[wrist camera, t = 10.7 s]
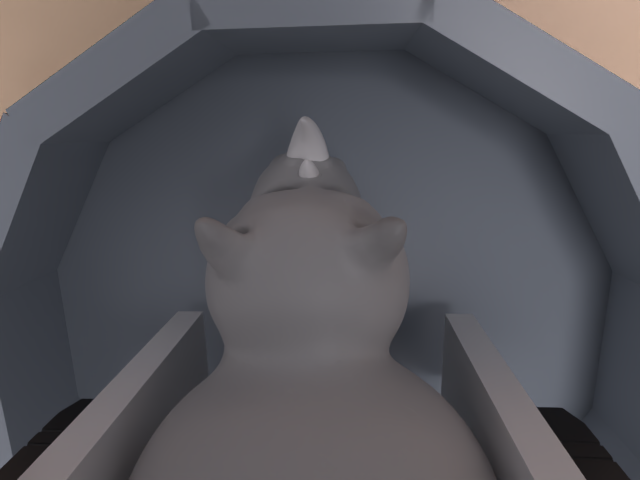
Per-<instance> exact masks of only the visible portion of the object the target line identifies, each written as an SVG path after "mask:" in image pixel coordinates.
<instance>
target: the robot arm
mask: <svg viewBox="0 0 640 480" xmlns="http://www.w3.org/2000/svg"><path fill="white" fill-rule="evenodd" d="M208 376H209V375H208V363H207V352H206V340H205V328H204V317H203V312H202V311H178V312H177V313H176V314H175V315H174V316H173V317H172V318H171V319H170V320H169V321H168V322H167V323H166V324H165V325H164V326H163V327H162V329H161V330H160V331H159V332H158V333H157V334H156V335H155V336H154V337H153V338H152V339H151V340H150V341H149V342H148V343H147V344H146V345H145V346H144V347H143V348H142V349H141V350H140V352H139V353H138V354H137V355H136V356H135V357H134V358H133V359H132V360H131V361H130V362H129V363H128V364H127V365H126V366H125V367H124V368H123V369H122V370H121V371H120V372H119V374H118V375H117V376H116V377H115V378H114V379H113V380H112V381H111V382H110V383H109V384H108V385H107V386H106V387H105V388H104V389H103V390H102V391H101V392H100V393H99V394H98V395H97V397H96V398H95V399H80V400H79V401H77V402H75V403H74V404H72V405H70V406H68V407H67V408H65V409H63V410H62V411H60V412H59V413H58V414H57V415H56V416H54V417H53V418H52V419H51V420H50V421H49V422H48V423H47V424H46V425H45V426H44V427H43V428H42V431H41V432H38V433H37V434H36V435H35V436H34V437H33V438H32V439H31V440H30V441H29V442H28V444H27V446H23V447H22V448H21V449H20V450H19V451H18V452H17V453H16V454H15V455H14V456H13V457H12V458H11V459H10V460H9V461H8V462H7V463H6V464H5V465H4V466H3V467H2V468H1V469H0V480H129V477H130V475H131V473H132V471H133V469H134V467H135V465H136V463H137V461H138V459H139V457H140V455H141V453H142V451H143V449H144V448H145V446H146V444H147V443H148V441H149V440H150V438H151V437H152V435H153V434H154V432H155V431H156V429H157V428H158V427H159V425H160V424H161V423H162V421H163V420H164V419H165V417H166V416H167V415H168V414H169V413H170V411H171V410H172V409H173V408H174V407H175V406H176V405H177V404H178V403H179V402H180V401H181V400H182V399H183V398H184V397H185V396H186V395H187V394H188V393H189V392H190V391H191V390H192V389H194V388H195V387H196V386H197V385H199V384H200V383H201V382H202V381H204V380H205V379H206V378H207V377H208ZM441 395H442V396H443V397H444V398H445V399H446V400H447V401H448V402H449V404H450V405H451V406H452V407H453V408H454V409H455V410H456V411H457V413H458V414H459V415H460V416H461V418H462V419H463V420H464V421H465V423H466V424H467V426H468V427H469V428H470V430H471V431H472V433H473V434H474V436H475V437H476V439H477V440H478V442H479V444H480V446H481V447H482V449H483V451H484V453H485V454H486V456H487V458H488V460H489V462H490V464H491V466H492V468H493V471H494V473H495V475H496V478H497V480H630V478H629V477H628V476H627V475H626V473H625V472H624V471H623V470H622V468H621V467H620V466H619V465H618V464H617V462H614V461H613V457H612V456H611V455H610V454H609V453H608V451H607V450H606V449H605V448H604V446H601V445H600V441H599V440H598V439H597V438H596V437H595V435H594V434H593V433H592V432H591V430H590V429H589V428H588V427H587V426H586V424H585V423H584V422H582V421H581V420H579V419H578V418H576V417H575V416H573V415H572V414H571V413H569V412H568V411H566V410H565V409H563V408H559V407H536V406H535V404H534V403H533V401H532V400H531V398H530V397H529V396H528V394H527V393H526V391H525V390H524V388H523V387H522V385H521V384H520V382H519V381H518V380H517V378H516V377H515V375H514V374H513V372H512V371H511V369H510V368H509V366H508V365H507V364H506V362H505V361H504V359H503V358H502V356H501V355H500V353H499V352H498V350H497V349H496V348H495V346H494V345H493V343H492V342H491V340H490V339H489V337H488V336H487V334H486V333H485V331H484V330H483V329H482V327H481V326H480V324H479V323H478V321H477V320H476V318H475V317H474V315H473V314H445V328H444V346H443V364H442V383H441Z"/></svg>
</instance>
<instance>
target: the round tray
mask: <svg viewBox="0 0 640 480" xmlns="http://www.w3.org/2000/svg"><path fill="white" fill-rule="evenodd" d="M6 112H7V113H3V115H2V118H1V121H0V469H1V468H2V467H3V466H4V465H5V464H6V463H7V462H8V461H9V460H10V459H11V458H12V457H13V456H14V455H15V454H16V453H17V452H18V451H19V450H20V449H21V448H22V447H23V446H27V444H28V442H29V441H30V440H31V439H32V438H33V437H34V436H35V435H36V434H37V433H38V432H41V431H42V428H43V427H44V426H45V425H46V424H47V423H48V422H49V421H50V420H51V419H52V418H53V417H54V416H56V415H57V414H58V413H59V412H60V411H62V410H63V409H65V408H67V407H68V406H70V405H72V404H74V403H75V402H77V401H79V400H80V399H95V398H96V397H97V395H98V394H99V393H100V392H101V391H102V390H103V389H104V388H105V387H106V386H107V385H108V384H109V383H110V382H111V381H112V380H113V379H114V378H115V377H116V376H117V375H118V374H119V372H120V371H121V370H122V369H123V368H124V367H125V366H126V365H127V364H128V363H129V362H130V361H131V360H132V359H133V358H134V357H135V356H136V355H137V354H138V353H139V352H140V350H141V349H142V348H143V347H144V346H145V345H146V344H147V343H148V342H149V341H150V340H151V339H152V338H153V337H154V336H155V335H156V334H157V333H158V332H159V331H160V330H161V329H162V327H163V326H164V325H165V324H166V323H167V322H168V321H169V320H170V319H171V318H172V317H173V316H174V315H175V314H176V313H177V312H178V311H202V312H203V317H204V328H205V340H206V352H207V363H208V375H210V374H211V373H212V372H213V371H214V370H215V369H216V367H217V366H218V365H219V363H220V361H221V359H222V356H223V353H224V342H223V339H222V337H221V334H220V332H219V330H218V328H217V326H216V324H215V322H214V321H213V319H212V316H211V314H210V311H209V308H208V305H207V300H206V292H205V275H206V267H207V262H208V261H207V260H206V259H205V257H204V255H203V254H202V252H201V250H200V248H199V245H198V242H197V239H196V236H195V230H194V225H195V222H196V220H198V219H199V218H202V217H210V218H213V219H215V220H217V221H219V222H221V223H223V224H224V225H227V223H228V222H229V221H230V220H231V219H232V218H234V217H235V216H236V215H237V214H238V213H239V212H240V210H241V209H242V208H243V206H244V205H245V204H246V203H247V202H248V201H249V200H250V199H251V196H252V193H253V190H254V187H255V185H256V183H257V181H258V178H259V177H260V175H261V174H262V173H263V172H264V170H265V169H266V168H267V167H268V166H269V165H270V163H271V161H272V160H273V159H274V158H275V157H277V156H278V155H280V154H285V153H286V152H287V151H288V148H289V145H290V142H291V139H292V136H293V133H294V131H295V128H296V126H297V124H298V121H299V120H300V118H301V117H304V116H306V117H309V118H311V119H312V120H313V121H314V122H315V123H316V124H317V126H318V128H319V129H320V131H321V133H322V135H323V138H324V140H325V143H326V146H327V150H328V154H329V155H330V156H331V157H336V158H338V159H340V160H342V161H343V162H344V163H345V165H346V169H347V171H348V172H349V174H350V175H351V177H352V178H353V180H354V182H355V184H356V186H357V188H358V190H359V192H360V197H361V199H364V200H365V201H366V202H368V203H369V204H370V205H371V206H372V207H373V208H374V209H375V210H376V211H377V212H378V213H379V214H380V215H381V217H382V218H385V217H390V216H393V217H398V218H400V219H402V220H404V221H405V223H406V225H407V237H406V240H405V244H404V249H405V252H406V256H407V260H408V265H409V273H410V291H409V299H408V304H407V309H406V312H405V315H404V318H403V320H402V323H401V325H400V327H399V329H398V331H397V332H396V334H395V336H394V338H393V339H392V341H391V344H390V347H389V353H390V355H391V356H392V358H393V359H394V360H395V361H397V362H398V363H399V364H401V365H402V366H404V367H405V368H407V369H408V370H410V371H411V372H412V373H414V374H415V375H417V376H418V377H419V378H421V379H422V380H424V381H425V382H426V383H428V384H429V385H430V386H432V387H433V388H434V389H435V390H436V391H437V392H438V393H439V394H441V383H442V364H443V346H444V328H445V314H473V315H474V317H475V318H476V320H477V321H478V323H479V324H480V326H481V327H482V329H483V330H484V331H485V333H486V334H487V336H488V337H489V339H490V340H491V342H492V343H493V345H494V346H495V348H496V349H497V350H498V352H499V353H500V355H501V356H502V358H503V359H504V361H505V362H506V364H507V365H508V366H509V368H510V369H511V371H512V372H513V374H514V375H515V377H516V378H517V380H518V381H519V382H520V384H521V385H522V387H523V388H524V390H525V391H526V393H527V394H528V396H529V397H530V398H531V400H532V401H533V403H534V404H535V406H536V407H559V408H563V409H565V410H566V411H568V412H569V413H571V414H572V415H573V416H575V417H576V418H578V419H579V420H581V421H582V422H584V423H585V424H586V426H587V427H588V428H589V429H590V430H591V432H592V433H593V434H594V435H595V437H596V438H597V439H598V440H599V441H600V445H601V446H604V448H605V449H606V450H607V451H608V453H609V454H610V455H611V456H612V457H613V461H614V462H617V464H618V465H619V466H620V467H621V468H622V470H623V471H624V472H625V473H626V475H627V476H628V477H629V478H630V480H640V90H639V89H638V88H636V87H634V86H633V85H631V84H630V83H628V82H626V81H625V80H623V79H621V78H620V77H618V76H616V75H615V74H613V73H612V72H610V71H608V70H607V69H605V68H603V67H602V66H600V65H598V64H597V63H595V62H593V61H592V60H590V59H589V58H587V57H585V56H584V55H582V54H580V53H579V52H577V51H575V50H574V49H572V48H571V47H569V46H567V45H566V44H564V43H562V42H561V41H559V40H557V39H556V38H554V37H553V36H551V35H549V34H548V33H546V32H544V31H543V30H541V29H539V28H538V27H536V26H535V25H533V24H531V23H530V22H528V21H526V20H525V19H523V18H521V17H520V16H518V15H517V14H515V13H513V12H512V11H510V10H508V9H507V8H505V7H503V6H502V5H500V4H499V3H497V2H495V1H494V0H154V1H153V2H151V3H150V4H148V5H147V6H146V7H144V8H143V9H142V10H140V11H139V12H138V13H136V14H135V15H134V16H132V17H131V18H129V19H128V20H127V21H125V22H124V23H123V24H121V25H120V26H119V27H117V28H116V29H115V30H113V31H112V32H111V33H109V34H108V35H106V36H105V37H104V38H102V39H101V40H100V41H98V42H97V43H96V44H94V45H93V46H92V47H90V48H89V49H87V50H86V51H85V52H83V53H82V54H81V55H79V56H78V57H77V58H75V59H74V60H73V61H71V62H70V63H68V64H67V65H66V66H64V67H63V68H62V69H60V70H59V71H58V72H56V73H55V74H54V75H52V76H51V77H50V78H48V79H47V80H45V81H44V82H43V83H41V84H40V85H39V86H37V87H36V88H35V89H33V90H32V91H31V92H29V93H28V94H26V95H25V96H24V97H22V98H21V99H20V100H18V101H17V102H16V103H14V104H13V105H12V106H10V107H9V108H8V109H6Z"/></svg>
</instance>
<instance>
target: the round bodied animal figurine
mask: <svg viewBox="0 0 640 480" xmlns="http://www.w3.org/2000/svg"><path fill="white" fill-rule="evenodd" d="M194 230H195V236H196V239H197V242H198V245H199V248H200V250H201V252H202V254H203V255H204V257H205V259H206V260H207V261H208V262H207V267H206V275H205V292H206V300H207V305H208V308H209V311H210V314H211V316H212V319H213V321H214V322H215V324H216V326H217V328H218V330H219V332H220V334H221V337H222V339H223V342H224V353H223V356H222V359H221V361H220V363H219V365H218V366H217V367H216V369H215V370H214V371H213V372H212V373H211V374H210V375H209V376H208V377H207V378H206V379H205V380H204V381H202V382H201V383H200V384H199V385H197V386H196V387H195V388H194V389H192V390H191V391H190V392H189V393H188V394H187V395H186V396H185V397H184V398H183V399H182V400H181V401H180V402H179V403H178V404H177V405H176V406H175V407H174V408H173V409H172V410H171V411H170V413H169V414H168V415H167V416H166V417H165V419H164V420H163V421H162V423H161V424H160V425H159V427H158V428H157V429H156V431H155V432H154V434H153V435H152V437H151V438H150V440H149V441H148V443H147V444H146V446H145V448H144V449H143V451H142V453H141V455H140V457H139V459H138V461H137V463H136V465H135V467H134V469H133V471H132V473H131V475H130V477H129V480H497V478H496V475H495V473H494V471H493V468H492V466H491V464H490V462H489V460H488V458H487V456H486V454H485V453H484V451H483V449H482V447H481V446H480V444H479V442H478V440H477V439H476V437H475V436H474V434H473V433H472V431H471V430H470V428H469V427H468V426H467V424H466V423H465V421H464V420H463V419H462V418H461V416H460V415H459V414H458V413H457V411H456V410H455V409H454V408H453V407H452V406H451V405H450V404H449V402H448V401H447V400H446V399H445V398H444V397H443V396H442V395H441V394H439V393H438V392H437V391H436V390H435V389H434V388H433V387H432V386H430V385H429V384H428V383H426V382H425V381H424V380H422V379H421V378H419V377H418V376H417V375H415V374H414V373H412V372H411V371H410V370H408V369H407V368H405V367H404V366H402V365H401V364H399V363H398V362H397V361H395V360H394V359H393V358H392V356H391V355H390V353H389V347H390V344H391V341H392V339H393V338H394V336H395V334H396V332H397V331H398V329H399V327H400V325H401V323H402V320H403V318H404V315H405V312H406V309H407V304H408V299H409V291H410V273H409V265H408V260H407V256H406V252H405V249H404V244H405V240H406V237H407V225H406V223H405V221H404V220H402V219H400V218H398V217H393V216H390V217H385V218H382V217H381V215H380V214H379V213H378V212H377V211H376V210H375V209H374V208H373V207H372V206H371V205H370V204H369V203H368V202H366V201H365V200H364V199H361V197H360V192H359V190H358V188H357V186H356V184H355V182H354V180H353V178H352V177H351V175H350V174H349V172H348V171H347V169H346V165H345V163H344V162H343V161H342V160H340V159H338V158H336V157H331V156H330V155H329V154H328V150H327V146H326V143H325V140H324V138H323V135H322V133H321V131H320V129H319V128H318V126H317V124H316V123H315V122H314V121H313V120H312V119H311V118H309V117H306V116H304V117H301V118H300V120H299V121H298V124H297V126H296V128H295V131H294V133H293V136H292V139H291V142H290V145H289V148H288V151H287V152H286V153H285V154H280V155H278V156H277V157H275V158H274V159H273V160H272V161H271V163H270V165H269V166H268V167H267V168H266V169H265V170H264V172H263V173H262V174H261V175H260V177H259V178H258V181H257V183H256V185H255V187H254V190H253V193H252V196H251V199H250V200H249V201H248V202H247V203H246V204H245V205H244V206H243V208H242V209H241V210H240V212H239V213H238V214H237V215H236V216H235V217H234V218H232V219H231V220H230V221H229V222H228V223H227V225H224V224H223V223H221V222H219V221H217V220H215V219H213V218H210V217H202V218H199V219H198V220H196V222H195V225H194Z"/></svg>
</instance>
